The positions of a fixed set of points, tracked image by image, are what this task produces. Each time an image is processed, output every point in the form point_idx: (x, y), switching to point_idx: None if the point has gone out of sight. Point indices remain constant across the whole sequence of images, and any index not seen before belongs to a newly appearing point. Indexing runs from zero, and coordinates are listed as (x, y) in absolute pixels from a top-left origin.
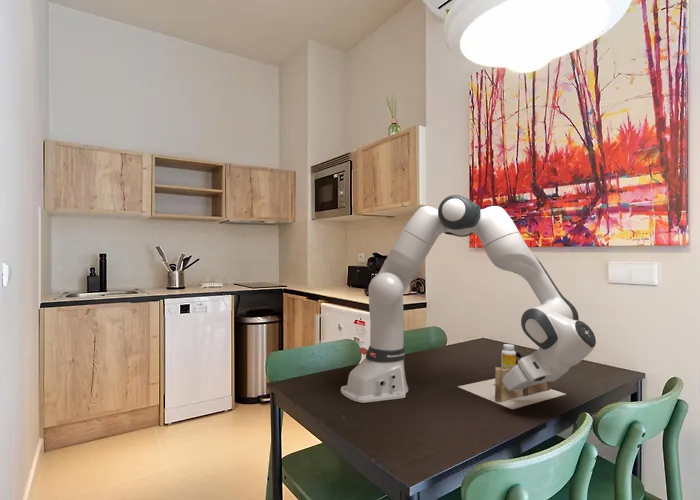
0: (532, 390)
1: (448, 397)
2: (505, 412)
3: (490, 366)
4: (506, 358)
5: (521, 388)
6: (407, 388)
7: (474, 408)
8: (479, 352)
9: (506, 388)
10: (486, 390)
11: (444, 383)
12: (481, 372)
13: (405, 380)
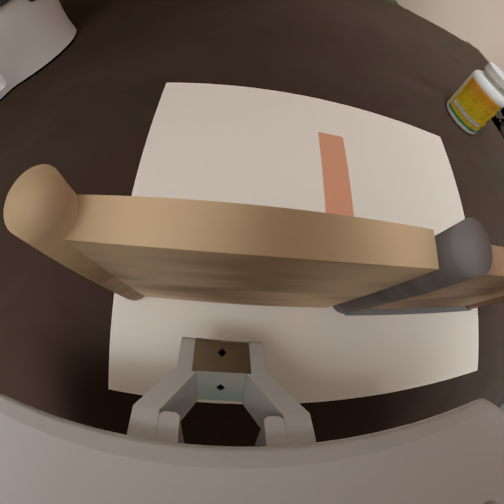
0: (401, 306)
1: (51, 137)
2: (69, 377)
3: (429, 79)
4: (472, 94)
5: (210, 399)
6: (33, 67)
7: (14, 263)
8: (446, 49)
9: (179, 288)
10: (229, 156)
11: (174, 52)
12: (378, 72)
13: (19, 52)
